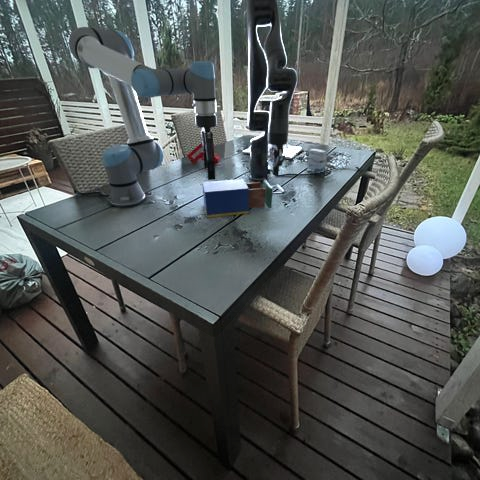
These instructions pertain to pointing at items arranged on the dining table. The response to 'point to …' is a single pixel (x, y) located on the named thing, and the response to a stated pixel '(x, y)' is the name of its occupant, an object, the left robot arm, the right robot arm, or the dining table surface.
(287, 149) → the relief map
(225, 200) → the cabinet
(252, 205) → the drawer
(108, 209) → the dining table surface
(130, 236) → the dining table surface
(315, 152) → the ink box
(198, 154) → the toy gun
